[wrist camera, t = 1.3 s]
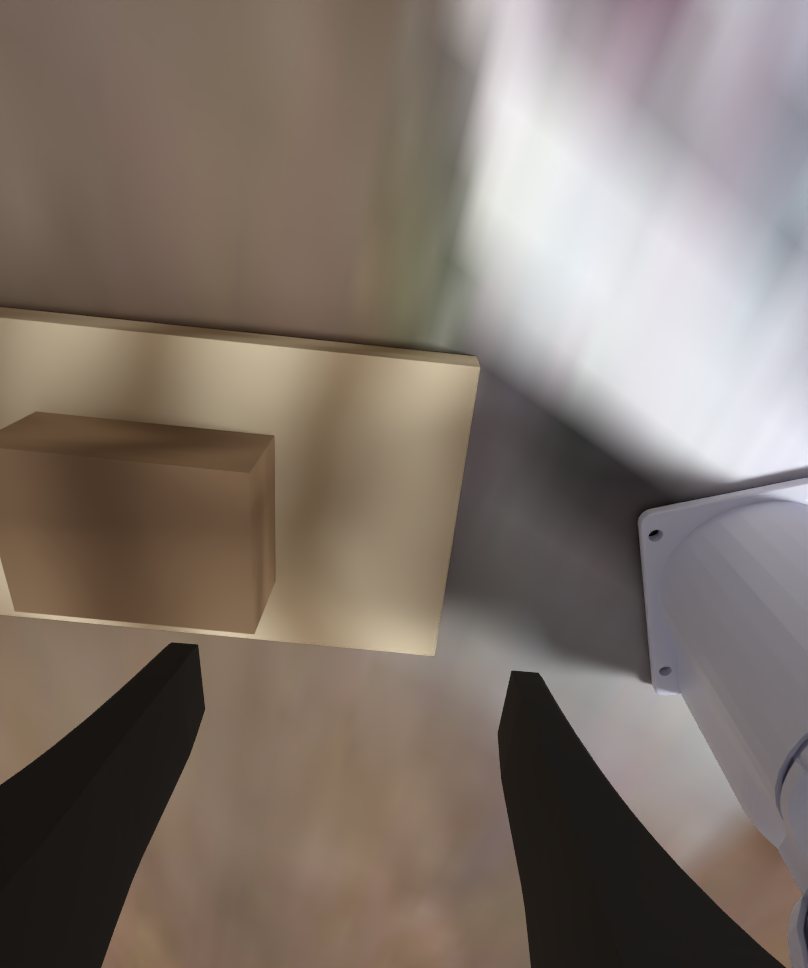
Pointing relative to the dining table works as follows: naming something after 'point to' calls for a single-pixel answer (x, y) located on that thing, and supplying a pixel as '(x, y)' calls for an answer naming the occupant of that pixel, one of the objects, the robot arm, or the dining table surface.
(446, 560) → the board
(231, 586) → the tan cardboard box
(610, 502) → the dining table surface
